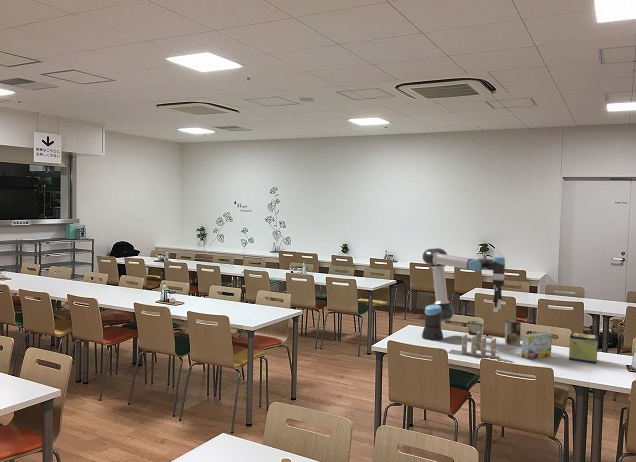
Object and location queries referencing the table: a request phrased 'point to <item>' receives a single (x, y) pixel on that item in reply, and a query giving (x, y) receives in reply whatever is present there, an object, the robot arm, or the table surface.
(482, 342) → the tile
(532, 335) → the snack box
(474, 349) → the tile
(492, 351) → the tile
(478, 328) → the food container
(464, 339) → the tile
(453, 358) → the table surface
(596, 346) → the protein box
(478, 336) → the tile
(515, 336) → the coffee box
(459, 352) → the mat
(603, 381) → the table surface
